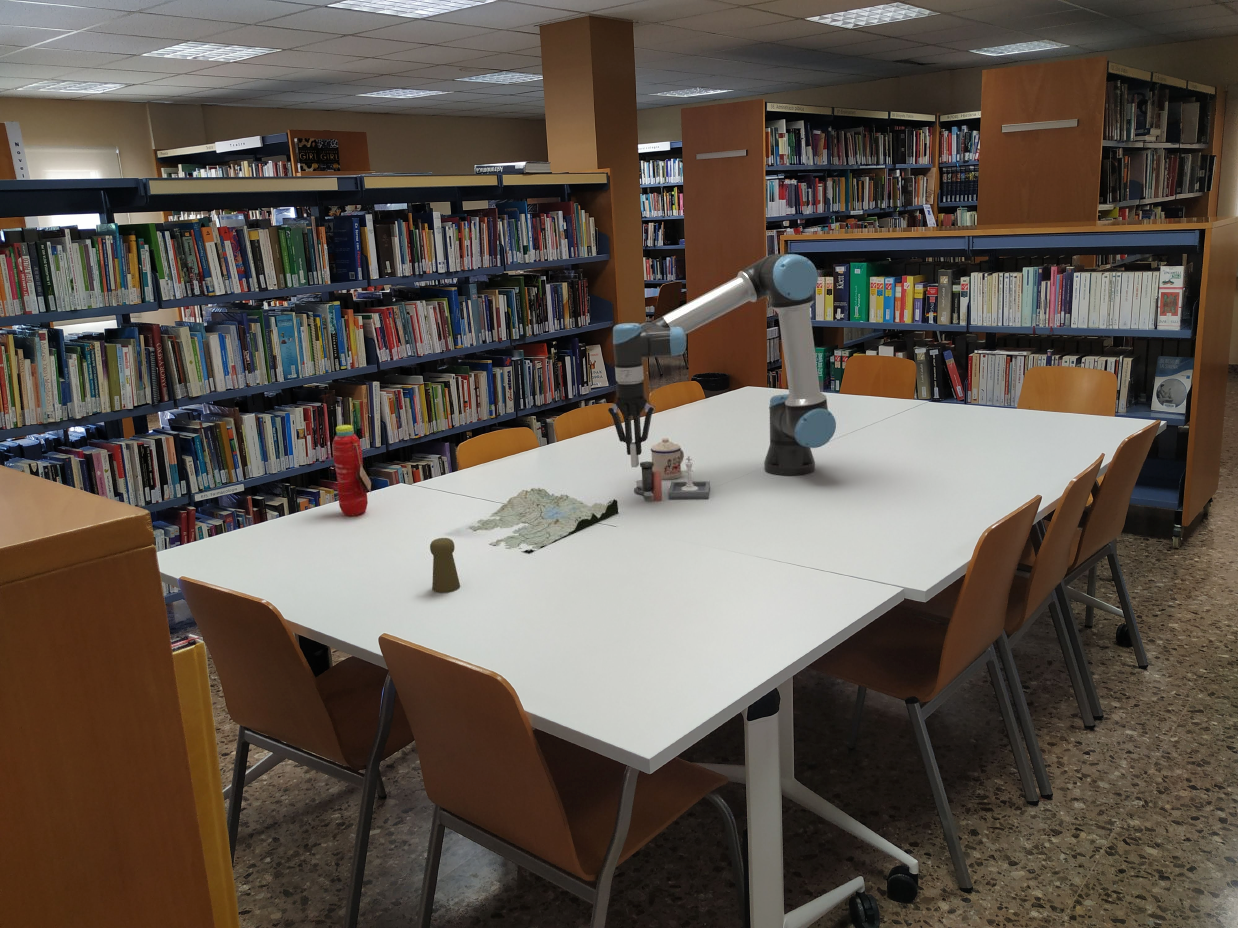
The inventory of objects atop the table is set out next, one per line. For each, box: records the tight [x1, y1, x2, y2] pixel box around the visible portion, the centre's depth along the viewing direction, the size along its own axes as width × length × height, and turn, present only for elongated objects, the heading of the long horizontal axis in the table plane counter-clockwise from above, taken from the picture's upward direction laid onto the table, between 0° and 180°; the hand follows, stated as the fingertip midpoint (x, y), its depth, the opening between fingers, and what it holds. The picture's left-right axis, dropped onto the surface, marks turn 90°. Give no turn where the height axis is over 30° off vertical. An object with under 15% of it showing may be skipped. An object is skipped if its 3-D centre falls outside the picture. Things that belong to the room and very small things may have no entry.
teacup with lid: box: [650, 437, 685, 481], centre depth 281 cm, size 12×9×12 cm
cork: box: [429, 537, 461, 594], centre depth 201 cm, size 6×6×11 cm
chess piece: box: [681, 455, 699, 491], centre depth 261 cm, size 5×5×10 cm
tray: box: [667, 480, 711, 500], centre depth 262 cm, size 11×11×2 cm
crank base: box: [633, 486, 653, 496], centre depth 266 cm, size 6×6×1 cm
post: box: [652, 471, 663, 502], centre depth 257 cm, size 2×2×8 cm
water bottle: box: [332, 424, 372, 517], centre depth 255 cm, size 12×8×25 cm, turn 52°
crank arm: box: [635, 460, 654, 497], centre depth 261 cm, size 13×4×9 cm, turn 5°
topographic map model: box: [466, 487, 619, 555], centre depth 242 cm, size 36×29×5 cm
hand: (635, 465), depth 257 cm, fingers closed
